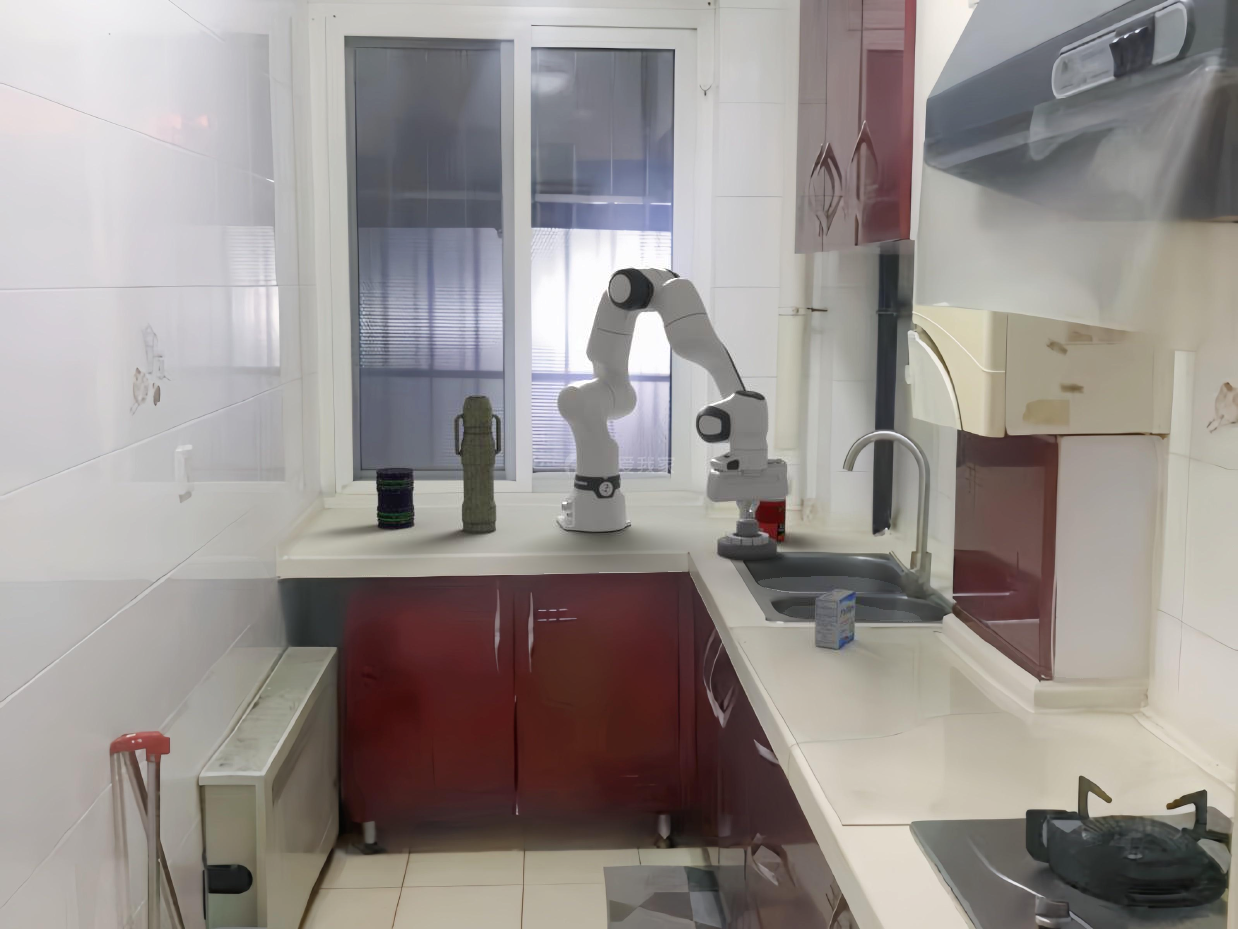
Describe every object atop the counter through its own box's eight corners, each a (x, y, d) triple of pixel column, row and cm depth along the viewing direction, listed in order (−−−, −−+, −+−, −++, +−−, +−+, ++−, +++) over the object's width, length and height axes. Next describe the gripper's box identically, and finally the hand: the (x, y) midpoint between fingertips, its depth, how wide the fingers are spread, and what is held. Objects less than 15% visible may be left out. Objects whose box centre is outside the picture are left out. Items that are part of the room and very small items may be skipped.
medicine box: (838, 650, 191) (839, 600, 190) (813, 646, 194) (815, 597, 193) (854, 639, 198) (856, 591, 197) (830, 635, 200) (832, 587, 199)
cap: (732, 539, 268) (732, 519, 267) (751, 538, 270) (751, 517, 269) (742, 544, 263) (743, 522, 262) (762, 542, 265) (762, 521, 264)
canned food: (784, 543, 278) (785, 499, 277) (751, 542, 280) (752, 498, 278) (785, 537, 286) (787, 494, 284) (754, 536, 287) (755, 493, 286)
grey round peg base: (707, 549, 271) (707, 531, 270) (758, 545, 276) (758, 527, 275) (734, 562, 258) (735, 542, 257) (787, 556, 263) (788, 538, 263)
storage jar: (422, 525, 301) (421, 469, 299) (396, 531, 293) (395, 474, 291) (395, 521, 306) (393, 466, 304) (369, 526, 298) (367, 471, 296)
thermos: (506, 531, 292) (505, 396, 288) (462, 535, 288) (460, 398, 283) (496, 525, 300) (494, 394, 296) (453, 528, 296) (450, 395, 291)
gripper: (780, 456, 271) (779, 513, 273) (704, 460, 263) (703, 519, 265) (794, 459, 265) (792, 517, 267) (716, 464, 257) (715, 523, 259)
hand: (747, 518), depth 266 cm, fingers closed
